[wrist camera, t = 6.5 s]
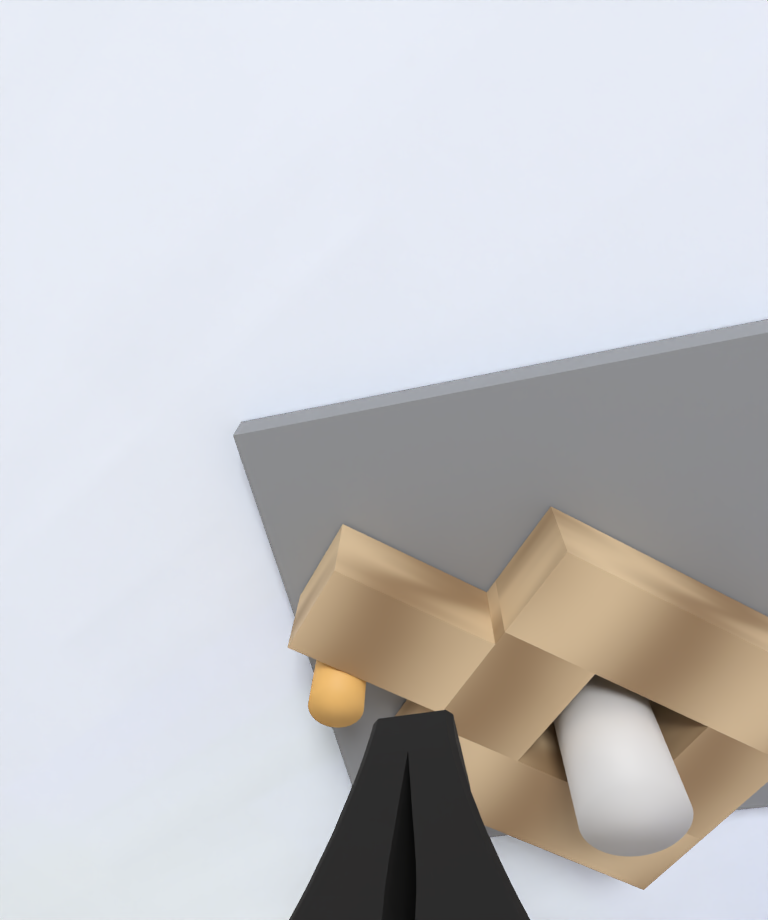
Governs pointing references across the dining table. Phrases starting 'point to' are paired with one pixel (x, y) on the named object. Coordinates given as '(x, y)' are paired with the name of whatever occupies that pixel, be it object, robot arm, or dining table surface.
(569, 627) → the wooden beam assembly
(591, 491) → the base plate
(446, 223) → the dining table surface
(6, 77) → the dining table surface
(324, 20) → the dining table surface
